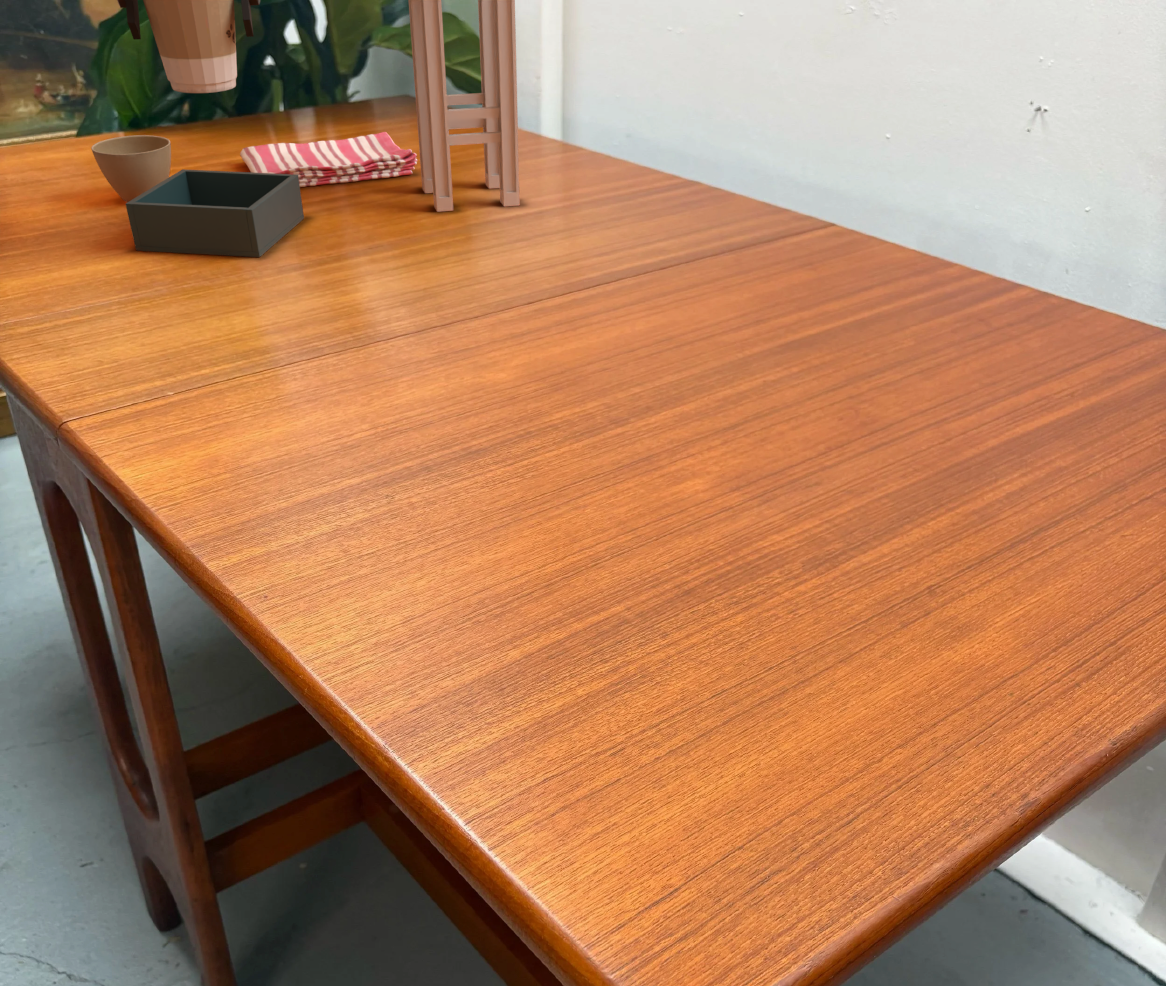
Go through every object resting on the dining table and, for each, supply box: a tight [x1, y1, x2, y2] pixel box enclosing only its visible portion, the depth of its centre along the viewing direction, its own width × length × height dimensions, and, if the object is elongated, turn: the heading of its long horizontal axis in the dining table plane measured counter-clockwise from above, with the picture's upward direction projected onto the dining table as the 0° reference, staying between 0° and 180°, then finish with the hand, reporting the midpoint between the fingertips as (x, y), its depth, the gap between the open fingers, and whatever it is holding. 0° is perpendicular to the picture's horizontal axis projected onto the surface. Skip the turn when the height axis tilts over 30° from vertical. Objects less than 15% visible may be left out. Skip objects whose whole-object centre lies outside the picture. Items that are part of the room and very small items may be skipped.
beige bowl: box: [90, 134, 172, 203], centre depth 148 cm, size 10×10×7 cm
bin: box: [125, 168, 305, 258], centre depth 137 cm, size 16×16×6 cm
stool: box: [408, 0, 521, 213], centre depth 142 cm, size 16×16×35 cm
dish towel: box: [239, 131, 418, 188], centre depth 163 cm, size 17×23×4 cm
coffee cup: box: [142, 0, 238, 94], centre depth 121 cm, size 11×11×15 cm
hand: (191, 29), depth 120 cm, fingers closed on coffee cup, 11 cm apart
